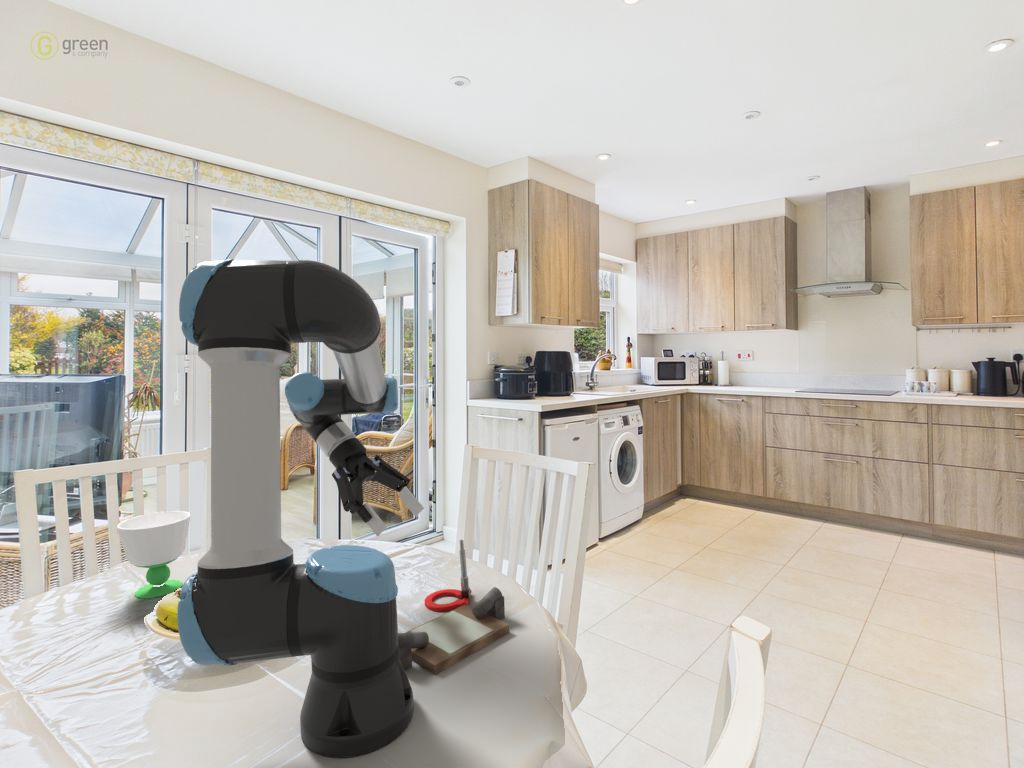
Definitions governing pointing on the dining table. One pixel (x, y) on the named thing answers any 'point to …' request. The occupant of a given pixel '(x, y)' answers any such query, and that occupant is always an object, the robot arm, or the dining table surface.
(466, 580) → the tow hook
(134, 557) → the cup
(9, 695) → the dining table surface
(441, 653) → the shaft stand
